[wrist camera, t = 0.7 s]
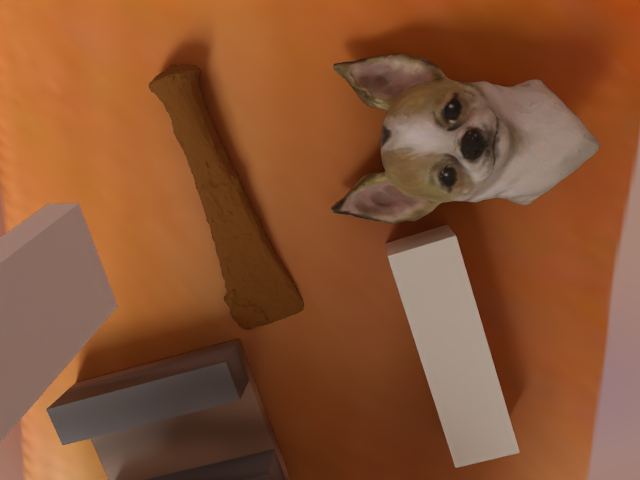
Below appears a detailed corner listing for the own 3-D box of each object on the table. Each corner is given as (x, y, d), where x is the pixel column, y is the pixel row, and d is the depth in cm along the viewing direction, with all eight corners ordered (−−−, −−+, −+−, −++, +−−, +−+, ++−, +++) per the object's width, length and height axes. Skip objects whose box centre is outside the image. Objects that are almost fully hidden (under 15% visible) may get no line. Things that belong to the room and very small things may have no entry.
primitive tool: (307, 307, 40) (301, 325, 36) (241, 331, 41) (230, 350, 37) (202, 58, 37) (185, 52, 33) (133, 89, 37) (110, 86, 34)
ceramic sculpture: (599, 250, 28) (318, 238, 30) (553, 221, 36) (335, 214, 38) (626, 36, 26) (321, 39, 28) (570, 58, 34) (338, 59, 36)
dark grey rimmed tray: (288, 473, 43) (281, 509, 39) (131, 509, 45) (108, 547, 41) (239, 338, 40) (225, 361, 36) (75, 382, 42) (46, 409, 38)
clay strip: (505, 420, 40) (519, 452, 36) (446, 435, 41) (455, 468, 37) (446, 223, 38) (455, 235, 34) (385, 242, 38) (387, 256, 34)
